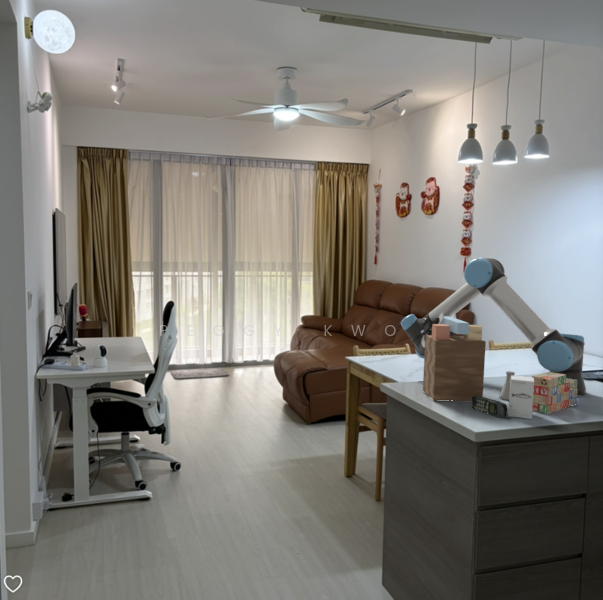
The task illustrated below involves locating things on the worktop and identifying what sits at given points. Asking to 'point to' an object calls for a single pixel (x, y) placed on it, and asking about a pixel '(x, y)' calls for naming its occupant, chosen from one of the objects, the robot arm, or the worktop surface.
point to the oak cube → (474, 333)
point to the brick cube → (440, 331)
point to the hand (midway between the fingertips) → (448, 316)
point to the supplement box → (521, 397)
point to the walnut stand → (453, 368)
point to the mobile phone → (490, 406)
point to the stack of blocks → (553, 392)
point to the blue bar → (456, 325)
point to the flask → (506, 386)
